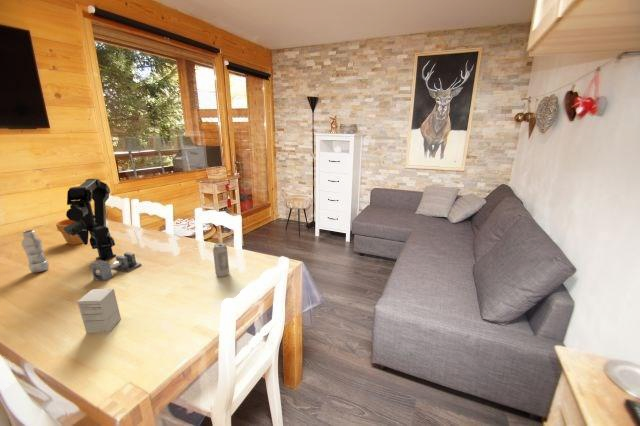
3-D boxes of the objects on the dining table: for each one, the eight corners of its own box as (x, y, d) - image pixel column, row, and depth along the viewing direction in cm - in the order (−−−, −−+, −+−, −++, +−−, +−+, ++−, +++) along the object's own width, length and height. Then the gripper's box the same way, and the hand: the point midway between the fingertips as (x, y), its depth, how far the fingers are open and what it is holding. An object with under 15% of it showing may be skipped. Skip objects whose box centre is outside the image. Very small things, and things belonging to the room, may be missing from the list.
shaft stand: (91, 278, 128) (88, 265, 126) (127, 262, 143) (124, 250, 142) (106, 282, 125) (103, 269, 123) (141, 265, 140) (139, 254, 138)
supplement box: (99, 319, 101) (92, 288, 97) (121, 318, 102) (114, 287, 98) (85, 334, 94) (76, 301, 90) (108, 333, 95) (100, 300, 91)
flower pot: (97, 240, 169) (92, 220, 165) (67, 248, 158) (61, 227, 154) (87, 235, 176) (82, 216, 173) (57, 243, 165) (51, 222, 161)
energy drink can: (225, 270, 137) (222, 241, 132) (231, 274, 133) (229, 245, 128) (213, 274, 133) (210, 244, 128) (219, 279, 129) (216, 248, 124)
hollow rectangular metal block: (93, 279, 127) (89, 263, 125) (102, 274, 131) (99, 259, 129) (103, 281, 125) (100, 266, 123) (112, 277, 129) (109, 262, 127)
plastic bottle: (53, 268, 136) (41, 229, 130) (36, 275, 130) (23, 234, 124) (44, 266, 138) (33, 228, 132) (27, 273, 132) (14, 233, 126)
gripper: (50, 217, 124) (59, 249, 129) (79, 222, 118) (87, 256, 123) (78, 210, 134) (86, 240, 139) (106, 214, 128) (113, 246, 133)
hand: (92, 246), depth 133 cm, fingers open, 9 cm apart
